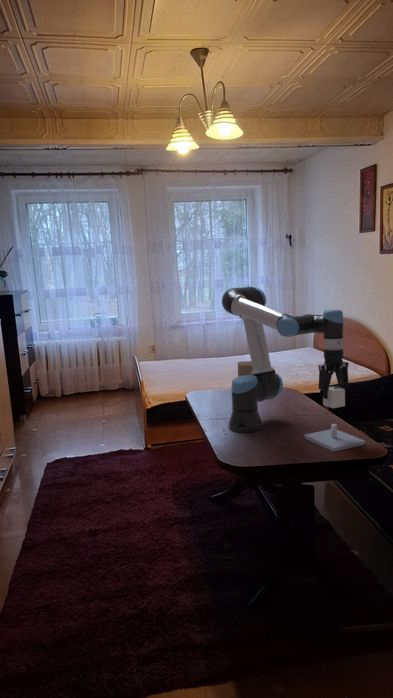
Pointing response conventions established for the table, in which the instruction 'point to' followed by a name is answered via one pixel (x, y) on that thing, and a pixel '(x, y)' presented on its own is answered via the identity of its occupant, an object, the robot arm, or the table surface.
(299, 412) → the table surface
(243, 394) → the robot arm
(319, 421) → the table surface
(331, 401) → the white box
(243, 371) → the wooden block
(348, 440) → the plate
